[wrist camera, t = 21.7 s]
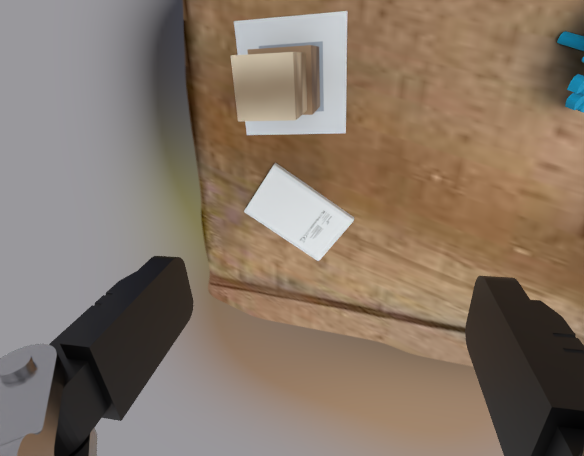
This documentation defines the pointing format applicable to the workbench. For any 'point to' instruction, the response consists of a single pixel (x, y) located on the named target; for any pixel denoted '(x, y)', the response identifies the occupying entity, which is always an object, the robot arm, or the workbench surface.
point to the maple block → (270, 86)
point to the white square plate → (332, 66)
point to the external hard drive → (298, 213)
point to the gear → (580, 84)
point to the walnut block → (311, 71)
